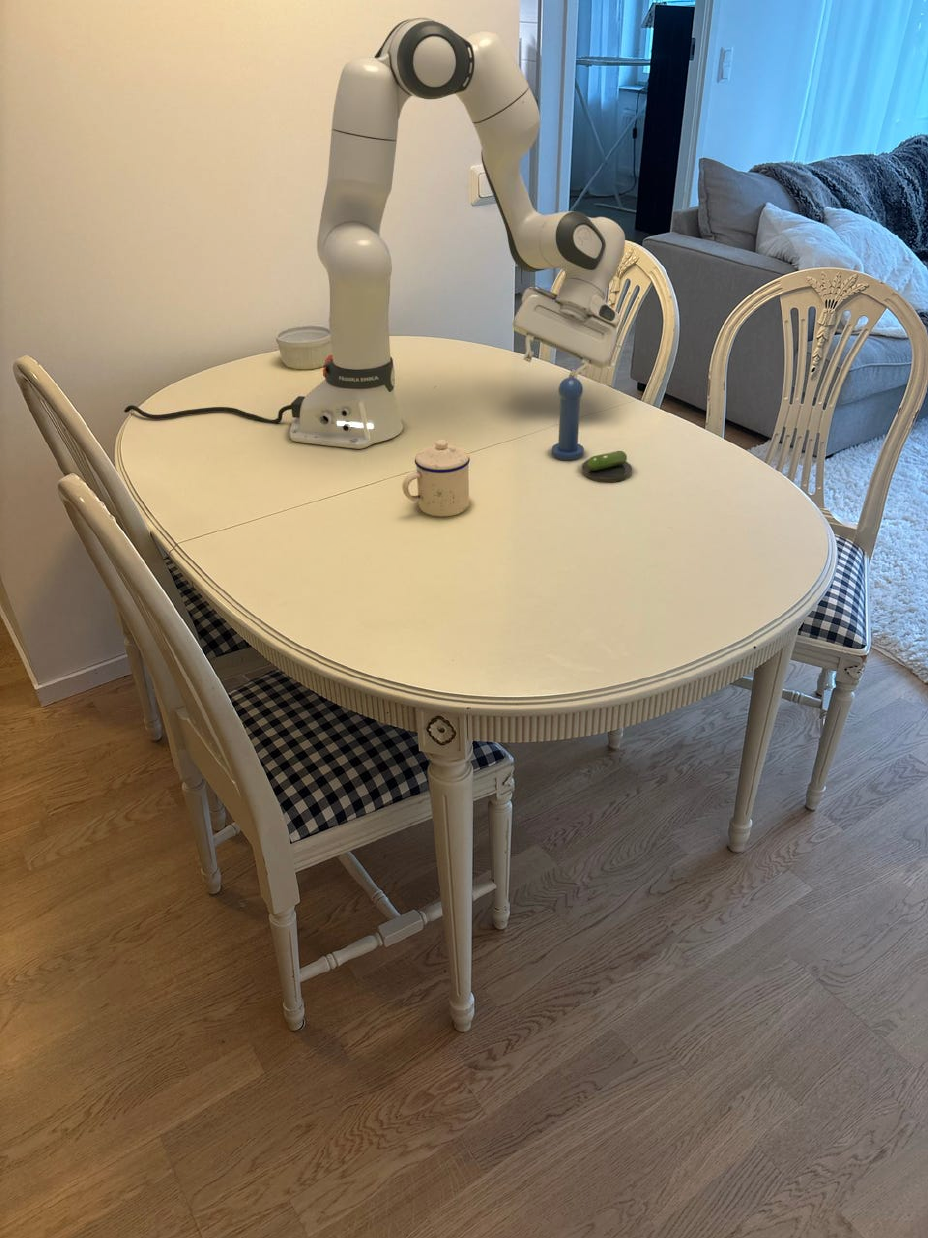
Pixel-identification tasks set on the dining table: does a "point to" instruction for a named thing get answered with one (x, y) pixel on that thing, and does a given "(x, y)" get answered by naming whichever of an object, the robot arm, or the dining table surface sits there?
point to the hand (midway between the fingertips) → (549, 369)
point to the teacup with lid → (441, 480)
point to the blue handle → (569, 421)
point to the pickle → (607, 467)
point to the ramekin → (304, 346)
